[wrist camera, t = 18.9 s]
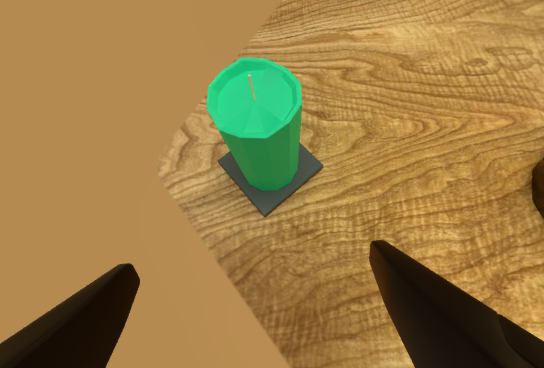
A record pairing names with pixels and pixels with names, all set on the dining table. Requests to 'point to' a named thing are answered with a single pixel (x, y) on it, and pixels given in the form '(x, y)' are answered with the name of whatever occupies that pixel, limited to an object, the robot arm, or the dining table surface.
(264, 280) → the dining table surface
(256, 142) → the candle
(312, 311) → the dining table surface
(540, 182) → the pan
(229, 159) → the coaster
